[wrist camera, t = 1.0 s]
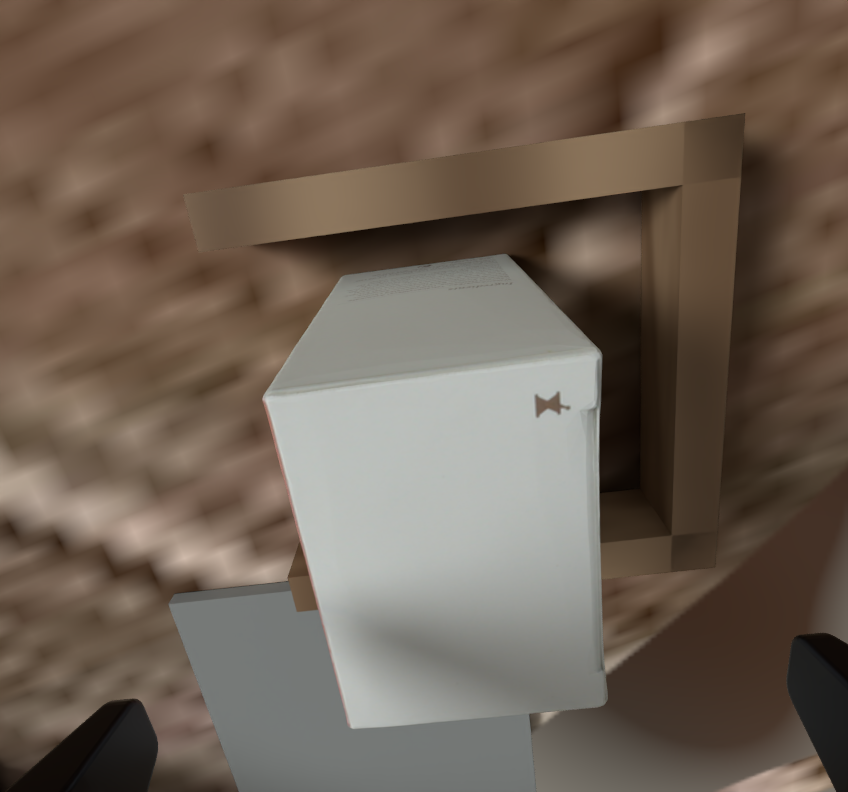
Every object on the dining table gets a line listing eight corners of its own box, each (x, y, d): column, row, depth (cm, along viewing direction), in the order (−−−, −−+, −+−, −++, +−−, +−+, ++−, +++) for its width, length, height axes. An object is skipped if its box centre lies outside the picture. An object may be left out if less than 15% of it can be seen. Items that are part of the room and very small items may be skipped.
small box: (340, 272, 19) (250, 383, 9) (510, 250, 19) (608, 340, 9) (378, 483, 22) (341, 741, 12) (526, 466, 21) (612, 716, 12)
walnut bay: (312, 558, 23) (297, 612, 20) (220, 190, 18) (182, 194, 15) (678, 517, 22) (715, 567, 19) (692, 122, 17) (745, 113, 14)
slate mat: (256, 815, 29) (252, 828, 28) (174, 594, 24) (168, 604, 23) (535, 790, 28) (537, 803, 27) (513, 556, 23) (515, 566, 22)
